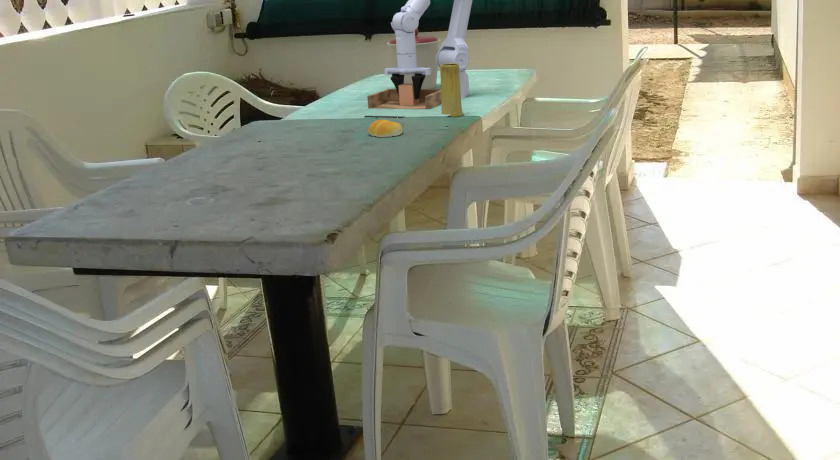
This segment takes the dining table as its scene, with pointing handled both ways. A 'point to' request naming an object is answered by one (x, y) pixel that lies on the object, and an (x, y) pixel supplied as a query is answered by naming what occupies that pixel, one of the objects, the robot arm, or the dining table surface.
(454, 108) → the vase
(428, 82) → the canister
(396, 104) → the crate
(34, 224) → the dining table surface
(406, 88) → the block
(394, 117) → the mat
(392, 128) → the bread roll
